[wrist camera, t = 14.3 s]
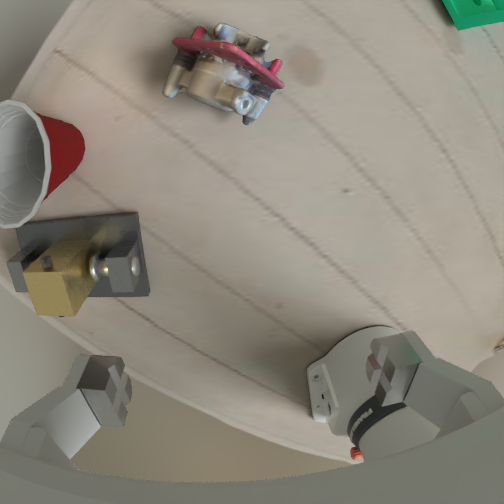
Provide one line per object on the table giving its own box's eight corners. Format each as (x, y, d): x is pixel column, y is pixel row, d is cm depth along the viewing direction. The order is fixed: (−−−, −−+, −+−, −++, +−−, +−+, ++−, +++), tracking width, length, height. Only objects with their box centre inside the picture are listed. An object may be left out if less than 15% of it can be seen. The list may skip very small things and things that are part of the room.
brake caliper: (307, 36, 25) (299, 83, 19) (263, 107, 33) (242, 172, 27) (206, -5, 22) (155, 26, 16) (177, 72, 31) (132, 128, 25)
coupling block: (100, 284, 35) (77, 322, 27) (66, 284, 34) (39, 321, 27) (89, 232, 32) (58, 263, 25) (54, 235, 31) (20, 265, 24)
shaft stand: (150, 291, 37) (141, 315, 32) (39, 291, 36) (22, 312, 31) (137, 212, 33) (124, 228, 28) (20, 223, 31) (-2, 238, 27)
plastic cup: (49, 86, 26) (-17, 83, 15) (121, 124, 29) (70, 129, 18) (16, 170, 29) (-48, 196, 18) (81, 209, 32) (28, 252, 21)
